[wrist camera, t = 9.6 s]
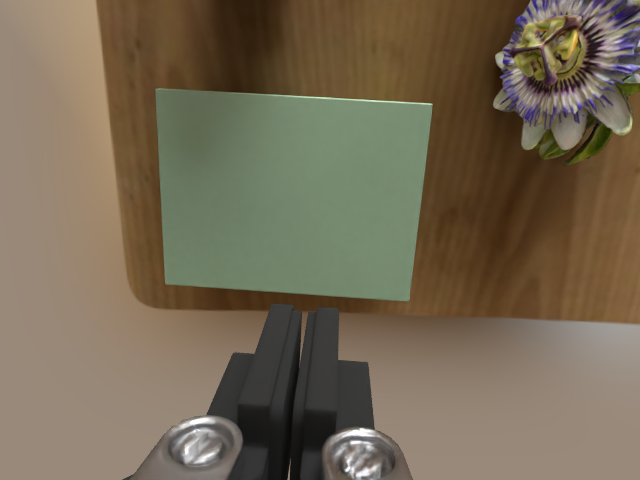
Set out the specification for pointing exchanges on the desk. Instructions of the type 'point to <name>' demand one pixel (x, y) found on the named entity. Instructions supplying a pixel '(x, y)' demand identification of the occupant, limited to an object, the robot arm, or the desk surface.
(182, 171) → the lid
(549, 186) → the desk surface
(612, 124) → the passion flower
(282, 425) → the robot arm
